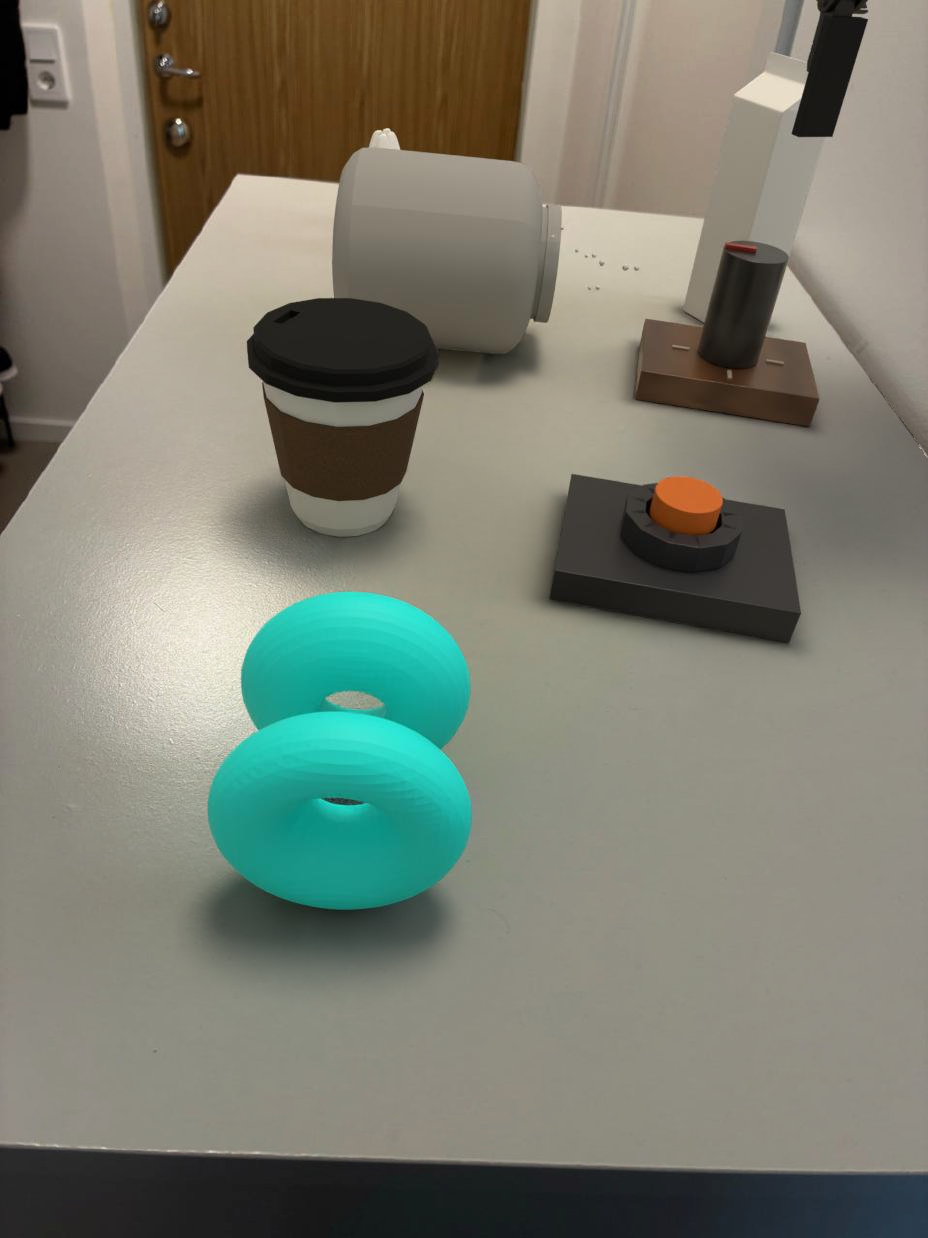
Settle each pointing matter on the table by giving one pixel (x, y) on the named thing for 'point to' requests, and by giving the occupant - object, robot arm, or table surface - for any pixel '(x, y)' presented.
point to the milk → (757, 174)
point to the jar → (448, 244)
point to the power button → (686, 505)
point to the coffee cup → (342, 405)
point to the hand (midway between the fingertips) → (882, 166)
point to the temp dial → (742, 303)
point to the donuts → (346, 756)
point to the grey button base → (676, 562)
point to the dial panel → (725, 376)
